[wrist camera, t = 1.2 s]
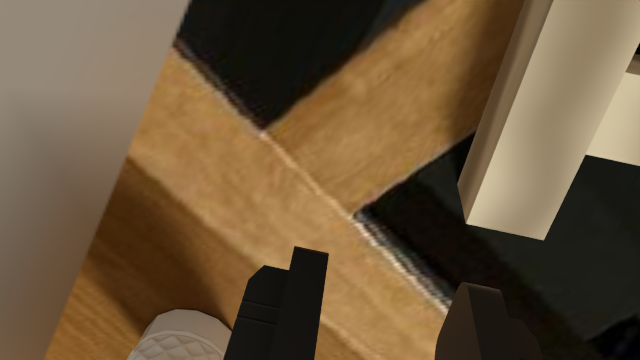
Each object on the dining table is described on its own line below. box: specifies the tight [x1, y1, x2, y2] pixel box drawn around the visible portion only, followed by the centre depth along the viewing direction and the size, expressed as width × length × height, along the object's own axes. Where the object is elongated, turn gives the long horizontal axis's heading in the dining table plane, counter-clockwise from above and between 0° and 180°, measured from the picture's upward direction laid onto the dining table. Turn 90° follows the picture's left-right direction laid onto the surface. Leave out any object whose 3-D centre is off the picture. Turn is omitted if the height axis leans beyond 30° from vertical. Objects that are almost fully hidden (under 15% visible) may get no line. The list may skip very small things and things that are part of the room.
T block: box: [457, 0, 640, 240], centre depth 27 cm, size 12×14×4 cm
